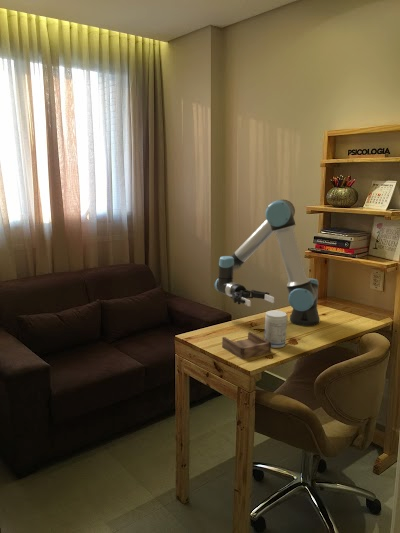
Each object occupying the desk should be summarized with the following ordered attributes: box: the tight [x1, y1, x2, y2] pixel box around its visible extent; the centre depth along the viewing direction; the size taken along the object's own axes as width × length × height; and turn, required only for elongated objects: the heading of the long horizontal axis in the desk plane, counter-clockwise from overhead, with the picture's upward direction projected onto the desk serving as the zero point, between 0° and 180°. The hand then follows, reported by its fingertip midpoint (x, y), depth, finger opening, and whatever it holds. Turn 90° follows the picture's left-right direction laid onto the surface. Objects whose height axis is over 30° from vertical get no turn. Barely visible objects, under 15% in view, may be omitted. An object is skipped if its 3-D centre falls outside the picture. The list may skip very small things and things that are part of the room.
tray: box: [221, 331, 272, 360], centre depth 197 cm, size 15×15×4 cm
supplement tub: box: [263, 309, 288, 349], centre depth 202 cm, size 10×10×15 cm
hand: (262, 302), depth 208 cm, fingers open, 13 cm apart
